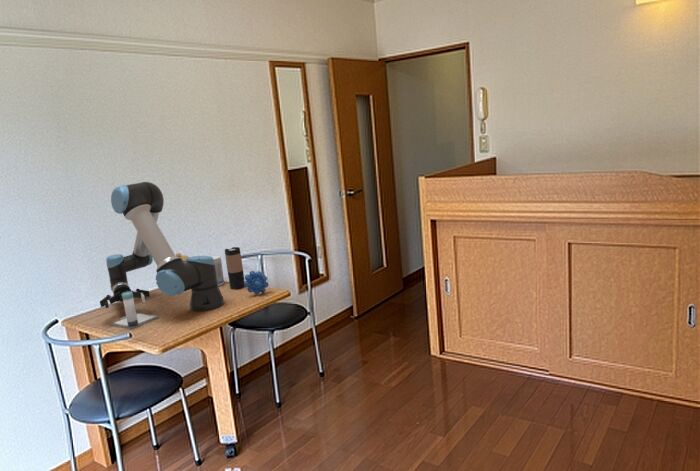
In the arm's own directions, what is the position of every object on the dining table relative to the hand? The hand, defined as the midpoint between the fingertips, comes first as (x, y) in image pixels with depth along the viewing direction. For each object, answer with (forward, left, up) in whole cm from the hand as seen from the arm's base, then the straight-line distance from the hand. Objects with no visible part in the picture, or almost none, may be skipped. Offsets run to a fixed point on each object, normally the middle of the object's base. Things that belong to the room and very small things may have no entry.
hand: (127, 303), depth 224 cm
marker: (-5, +2, -8) cm, 10 cm away
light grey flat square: (0, -2, -9) cm, 9 cm away
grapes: (-31, -47, -9) cm, 57 cm away
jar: (+22, -48, -9) cm, 54 cm away
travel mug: (-11, -54, -9) cm, 56 cm away
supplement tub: (+5, -54, -9) cm, 55 cm away
